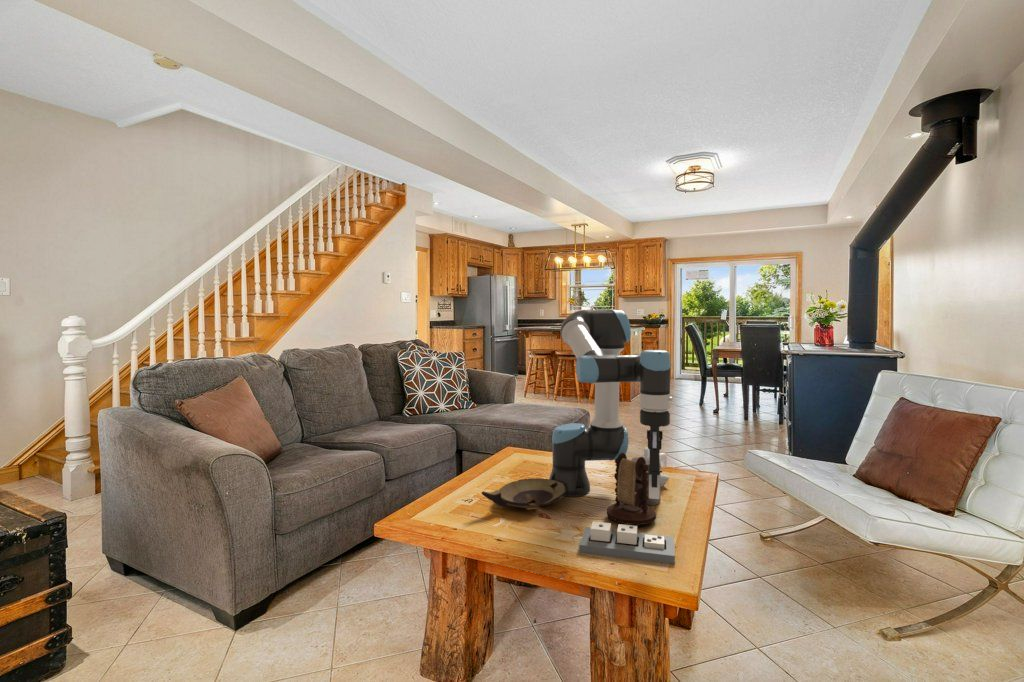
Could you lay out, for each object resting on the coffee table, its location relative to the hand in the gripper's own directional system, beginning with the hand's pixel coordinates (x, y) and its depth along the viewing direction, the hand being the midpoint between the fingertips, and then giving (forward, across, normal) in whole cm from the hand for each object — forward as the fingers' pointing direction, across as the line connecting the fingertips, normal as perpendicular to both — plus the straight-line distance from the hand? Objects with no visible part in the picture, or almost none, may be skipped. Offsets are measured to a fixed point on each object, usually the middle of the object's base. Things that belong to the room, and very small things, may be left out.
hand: (654, 497), depth 133 cm
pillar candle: (+15, +38, +3) cm, 41 cm away
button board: (+14, 0, +7) cm, 16 cm away
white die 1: (+12, 0, +14) cm, 18 cm away
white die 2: (+12, 0, +7) cm, 14 cm away
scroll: (+15, +20, +7) cm, 25 cm away
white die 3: (+14, 0, 0) cm, 14 cm away
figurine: (+15, +55, 0) cm, 57 cm away
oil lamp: (+15, +24, +42) cm, 50 cm away
